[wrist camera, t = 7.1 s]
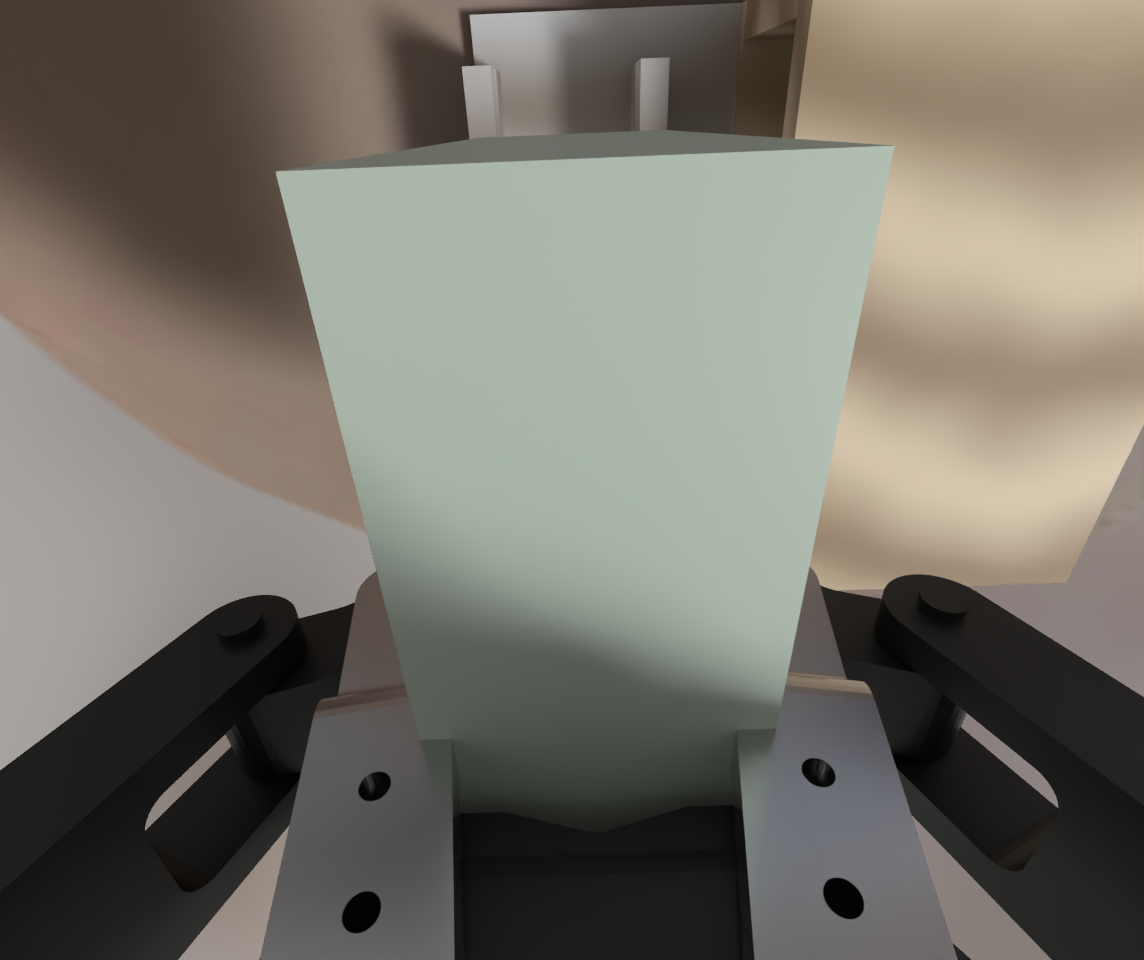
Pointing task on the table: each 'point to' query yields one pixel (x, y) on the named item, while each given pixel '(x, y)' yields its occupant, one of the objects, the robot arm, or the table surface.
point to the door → (591, 437)
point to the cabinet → (916, 240)
